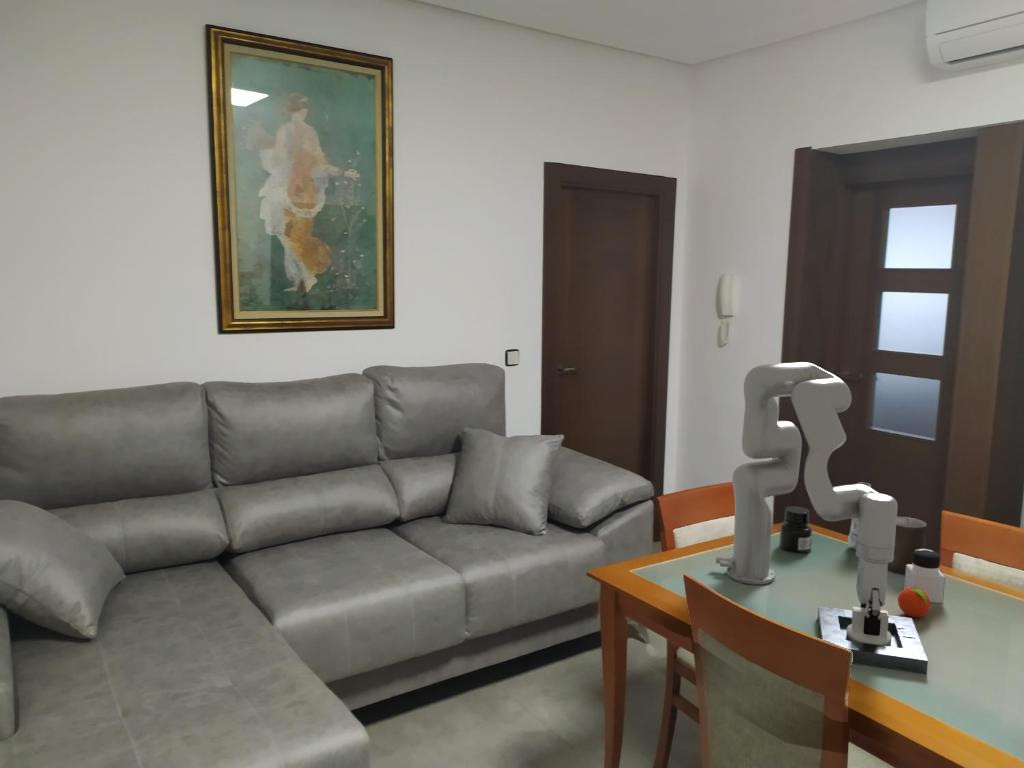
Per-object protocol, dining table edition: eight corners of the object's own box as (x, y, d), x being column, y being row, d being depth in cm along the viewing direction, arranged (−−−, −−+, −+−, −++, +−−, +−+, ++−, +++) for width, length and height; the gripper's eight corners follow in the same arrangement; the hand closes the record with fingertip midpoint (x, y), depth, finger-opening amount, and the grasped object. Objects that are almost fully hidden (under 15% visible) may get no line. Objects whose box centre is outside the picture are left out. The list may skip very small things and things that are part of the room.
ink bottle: (807, 556, 220) (809, 517, 218) (775, 550, 224) (777, 511, 222) (814, 546, 228) (816, 507, 226) (784, 540, 232) (786, 503, 231)
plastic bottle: (842, 545, 228) (847, 481, 225) (864, 545, 228) (869, 480, 225) (854, 553, 221) (858, 487, 218) (876, 553, 222) (881, 487, 219)
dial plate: (822, 658, 163) (823, 644, 163) (817, 617, 182) (818, 605, 181) (926, 674, 157) (927, 659, 156) (910, 630, 175) (911, 617, 175)
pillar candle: (921, 578, 204) (926, 525, 202) (881, 571, 209) (885, 518, 207) (924, 567, 212) (928, 515, 210) (885, 560, 217) (889, 509, 215)
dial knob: (848, 644, 166) (850, 615, 165) (844, 626, 175) (846, 598, 174) (893, 651, 163) (896, 621, 162) (888, 632, 172) (890, 604, 171)
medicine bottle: (943, 603, 189) (947, 558, 187) (912, 601, 190) (916, 556, 188) (933, 591, 196) (937, 547, 194) (903, 589, 197) (907, 545, 195)
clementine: (939, 623, 179) (941, 594, 178) (912, 625, 178) (915, 597, 177) (916, 608, 187) (918, 580, 186) (890, 610, 185) (892, 582, 184)
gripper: (852, 535, 175) (847, 608, 178) (860, 562, 159) (854, 642, 162) (888, 538, 173) (882, 612, 175) (900, 567, 156) (893, 648, 159)
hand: (869, 626), depth 169 cm, fingers open, 6 cm apart
